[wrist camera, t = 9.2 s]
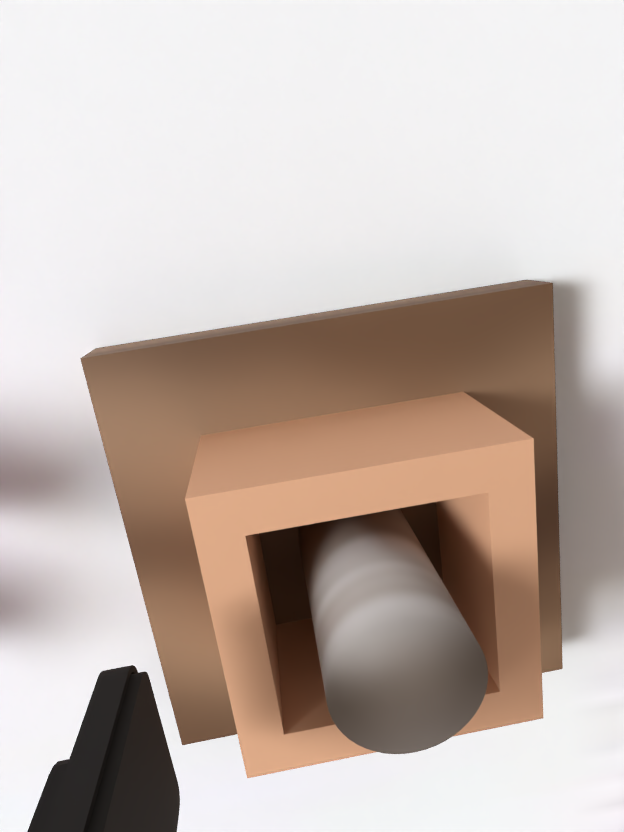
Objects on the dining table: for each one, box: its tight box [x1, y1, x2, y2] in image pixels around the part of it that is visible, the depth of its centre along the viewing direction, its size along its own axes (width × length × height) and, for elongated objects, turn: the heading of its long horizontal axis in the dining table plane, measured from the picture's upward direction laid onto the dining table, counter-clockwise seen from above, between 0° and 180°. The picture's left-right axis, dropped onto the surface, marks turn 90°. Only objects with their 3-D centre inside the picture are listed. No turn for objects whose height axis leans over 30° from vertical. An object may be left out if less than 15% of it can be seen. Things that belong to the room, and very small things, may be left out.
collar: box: [185, 392, 543, 778], centre depth 14 cm, size 7×7×4 cm
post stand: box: [81, 280, 562, 754], centre depth 14 cm, size 12×12×8 cm
